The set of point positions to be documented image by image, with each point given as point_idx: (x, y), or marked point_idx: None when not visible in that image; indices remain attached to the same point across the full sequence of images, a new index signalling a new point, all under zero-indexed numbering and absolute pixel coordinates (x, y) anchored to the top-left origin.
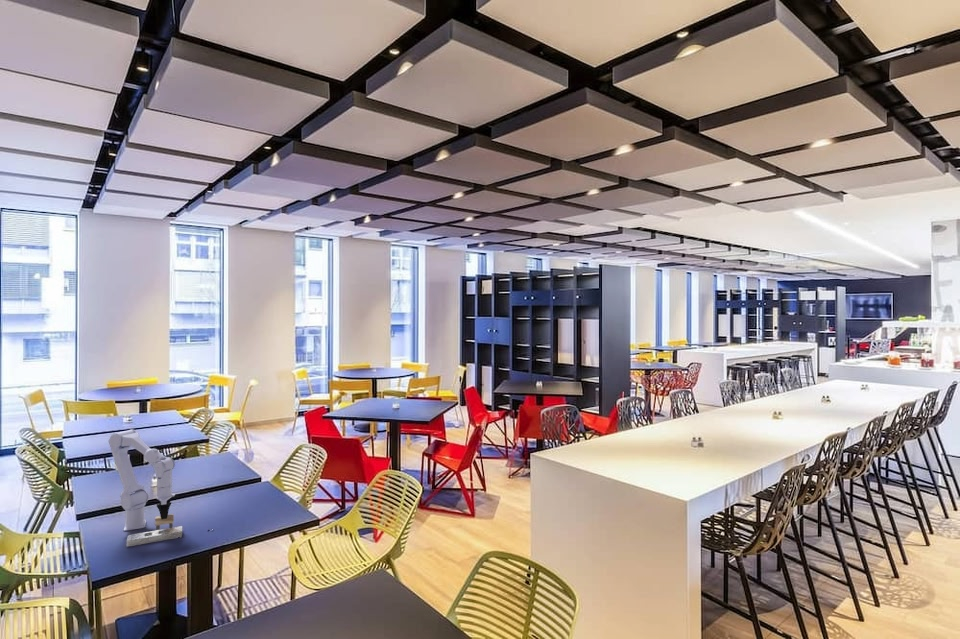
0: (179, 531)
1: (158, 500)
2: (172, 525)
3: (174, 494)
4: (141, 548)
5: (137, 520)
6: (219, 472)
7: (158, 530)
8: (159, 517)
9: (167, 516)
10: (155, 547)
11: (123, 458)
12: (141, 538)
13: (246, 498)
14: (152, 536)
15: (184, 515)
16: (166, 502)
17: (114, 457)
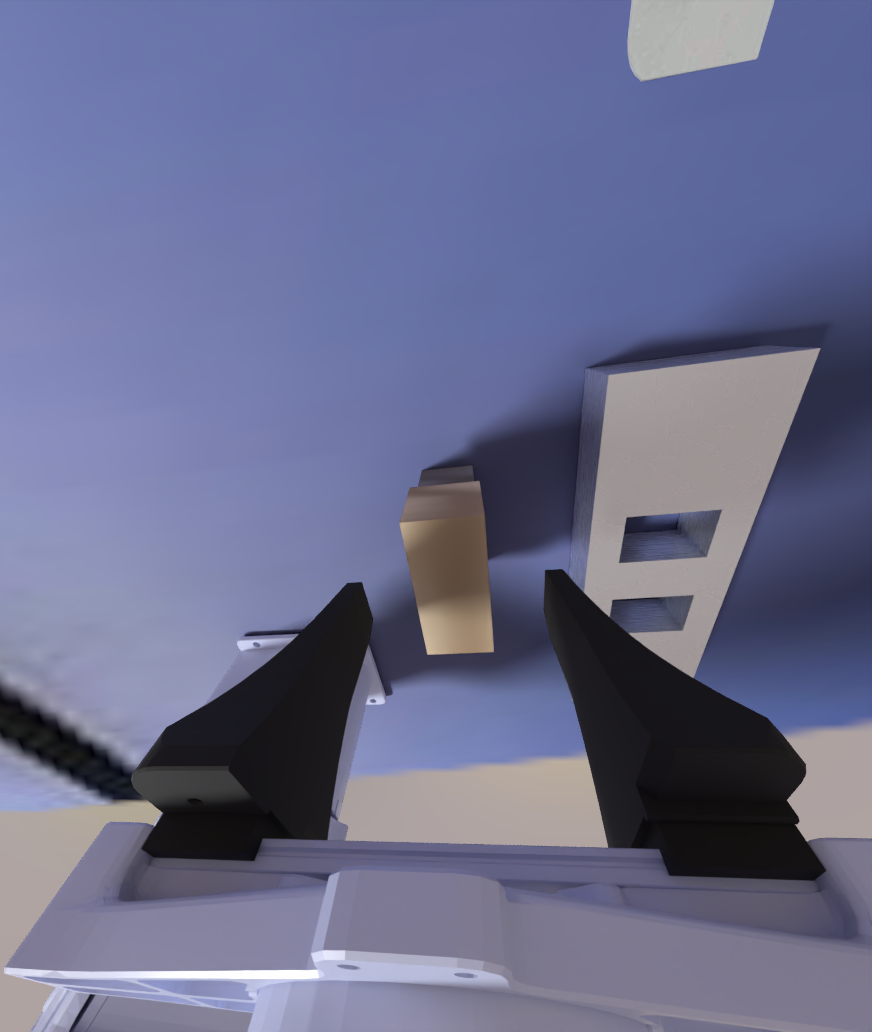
0: (799, 377)
1: (326, 836)
2: (438, 477)
3: (437, 965)
4: (767, 599)
5: (351, 705)
6: None
7: (601, 567)
8: (464, 627)
9: (466, 569)
10: (838, 526)
11: None
12: (706, 640)
13: None
14: (727, 587)
15: (114, 415)
16: (866, 884)
17: None
